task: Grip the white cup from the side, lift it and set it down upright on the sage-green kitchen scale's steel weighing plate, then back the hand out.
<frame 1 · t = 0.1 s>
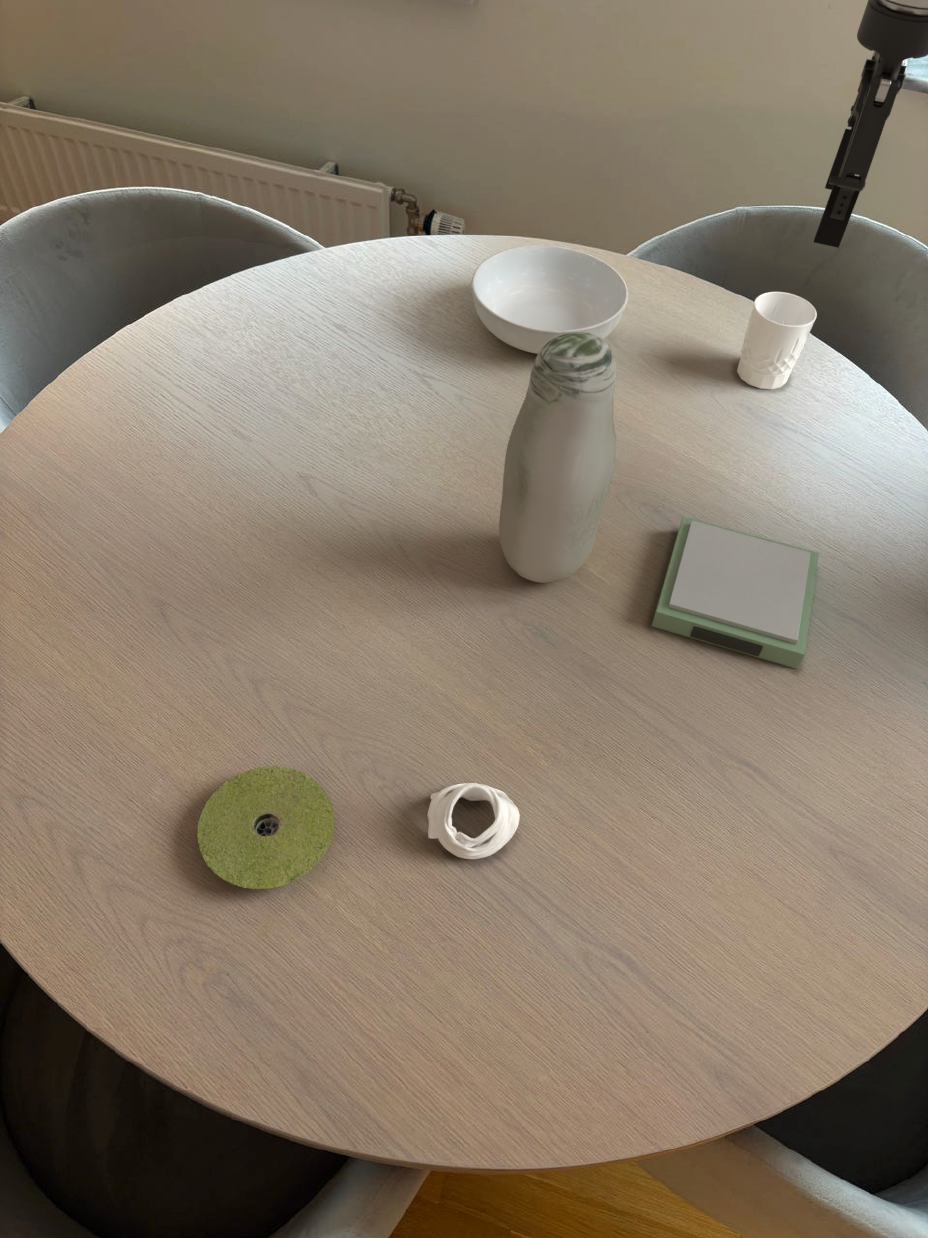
hand: (831, 215, 107), 24 cm above the table, tool pointing down, fingers open, 13 cm apart
kitchen scale: (734, 596, 101), on the table
serving bowl: (543, 331, 131), on the table
white cup: (761, 375, 128), on the table
green abrasive disc: (268, 836, 81), on the table
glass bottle: (541, 566, 103), on the table
white rolled strap: (472, 826, 82), on the table
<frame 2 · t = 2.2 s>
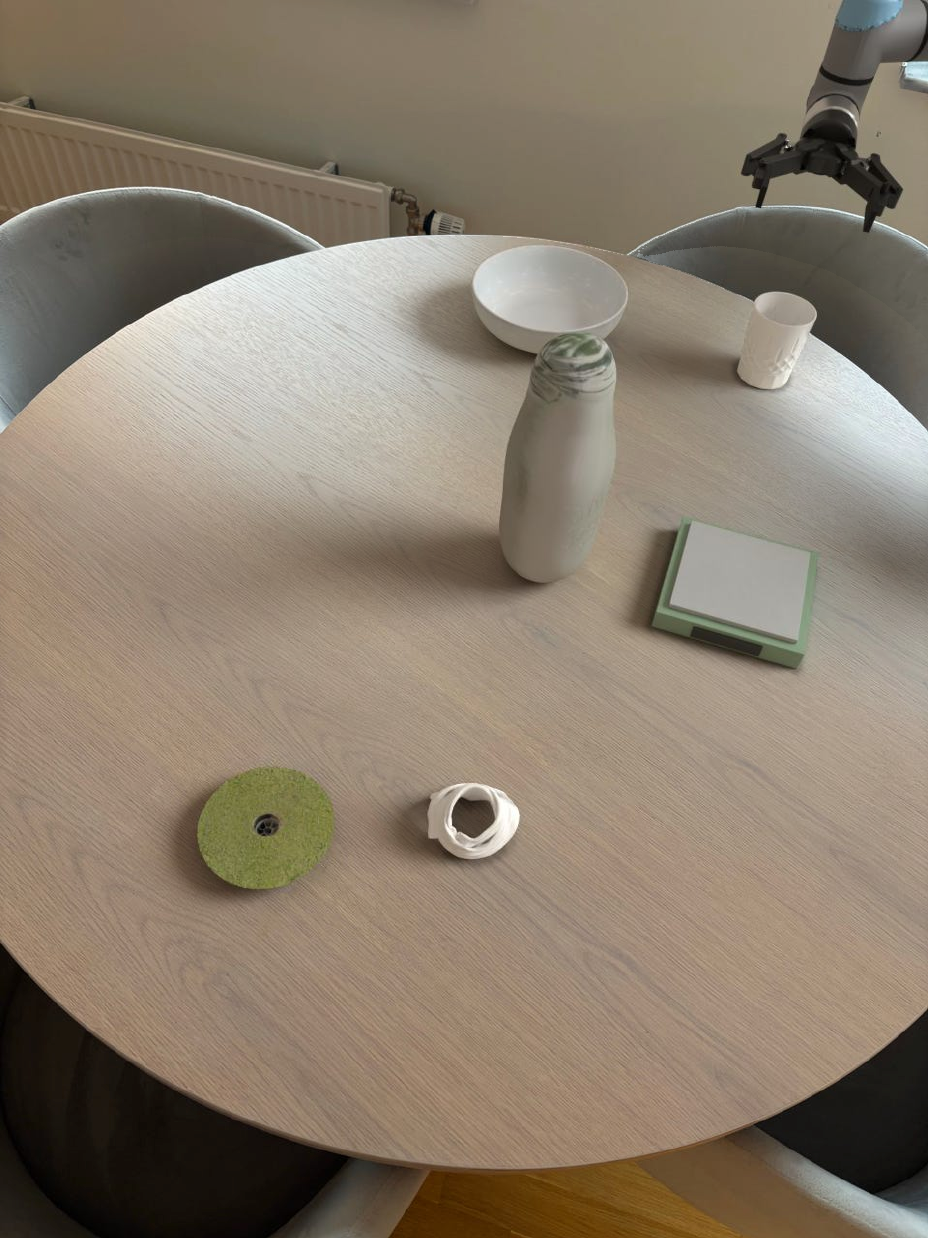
hand: (815, 209, 119), 19 cm above the table, tool horizontal, fingers open, 13 cm apart
nothing on the table moved.
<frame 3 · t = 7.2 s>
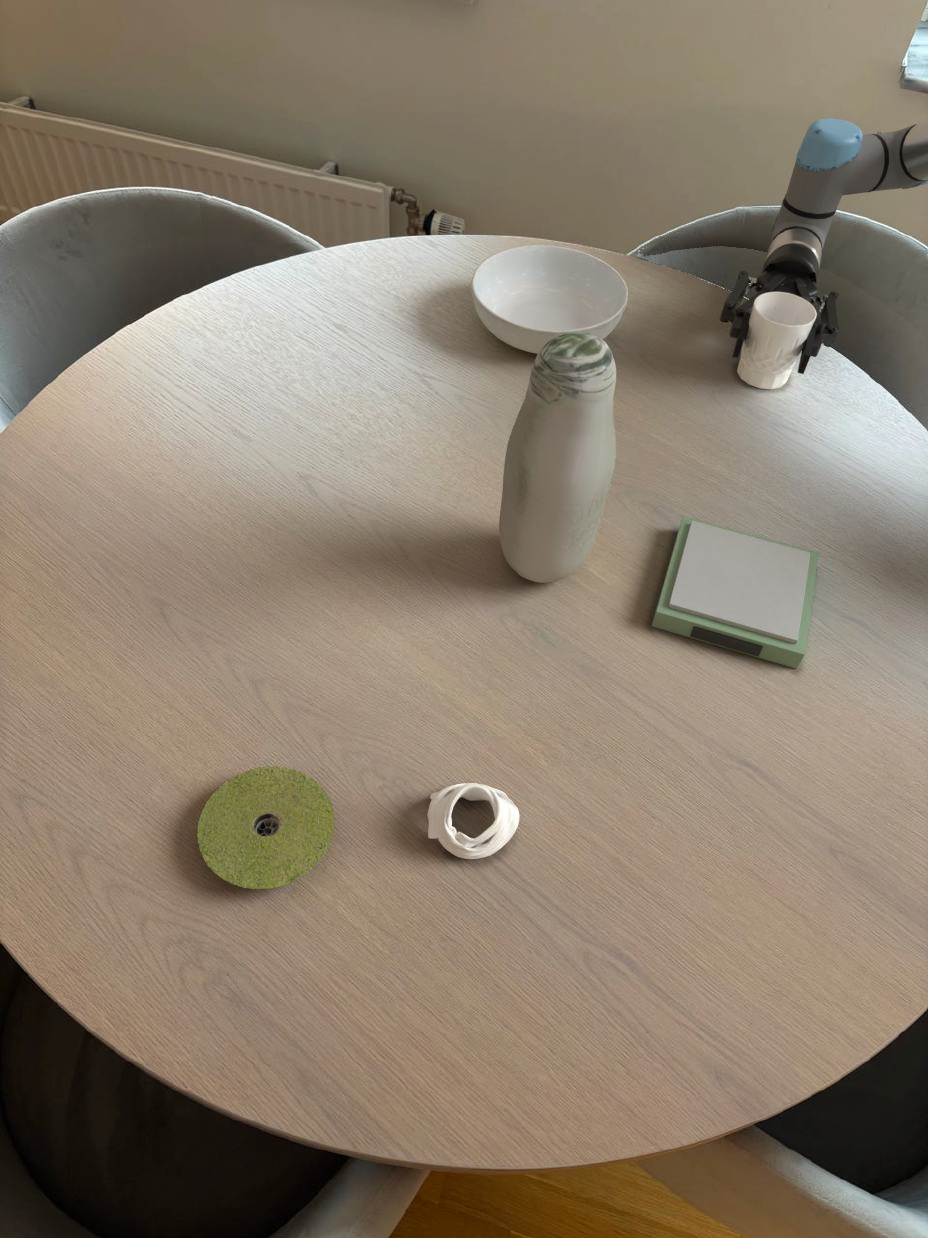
hand: (770, 356, 120), 6 cm above the table, tool horizontal, fingers closed on white cup, 8 cm apart
white cup: (761, 375, 128), on the table, touching gripper
everything else where it was.
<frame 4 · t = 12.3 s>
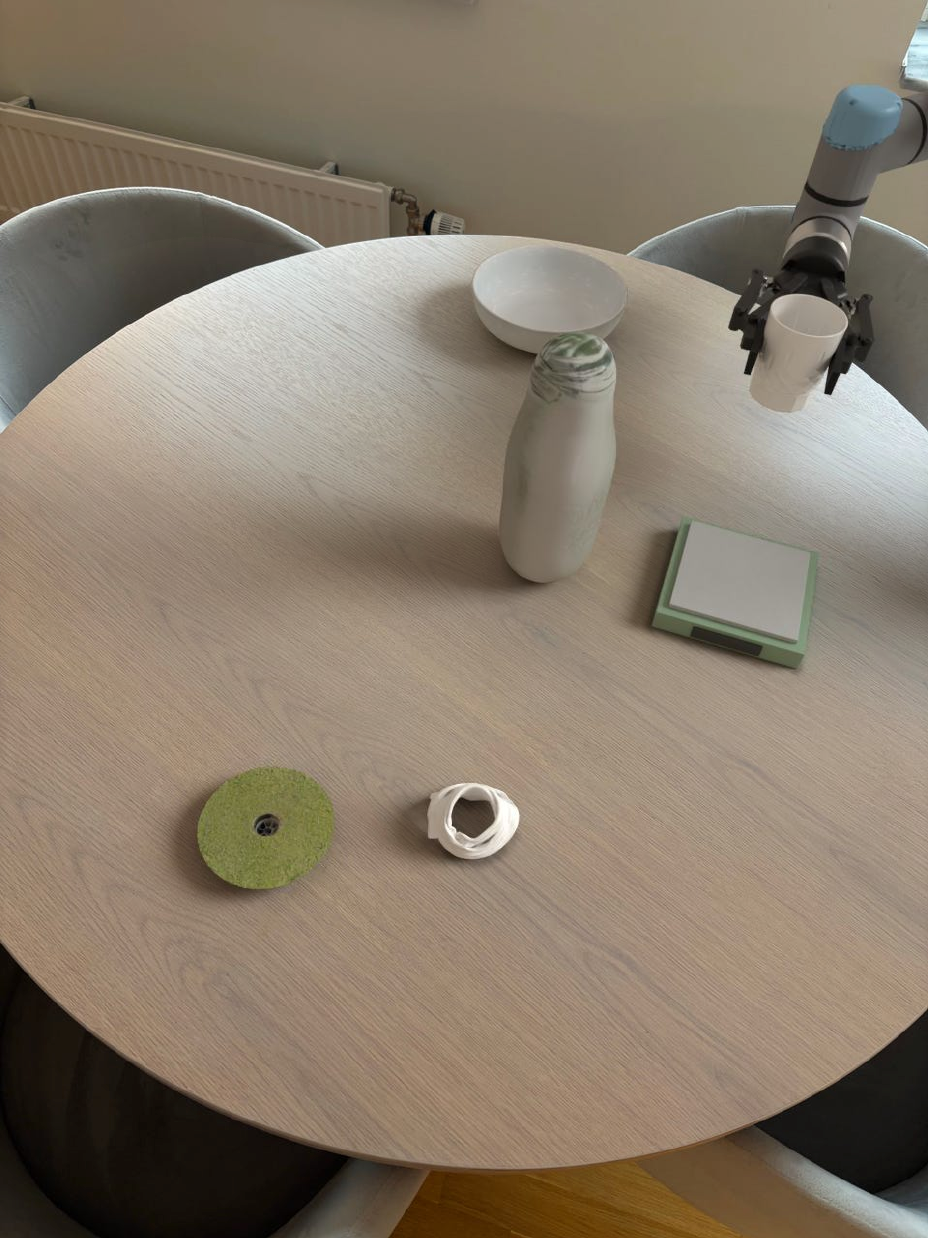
hand: (791, 373, 97), 18 cm above the table, tool horizontal, fingers closed on white cup, 8 cm apart
white cup: (778, 396, 105), point 12 cm above the table, touching gripper
everything else where it was.
when the fingers open (9 cm above the table, at t = 17.7 s): white cup stays where it is, resting on kitchen scale.
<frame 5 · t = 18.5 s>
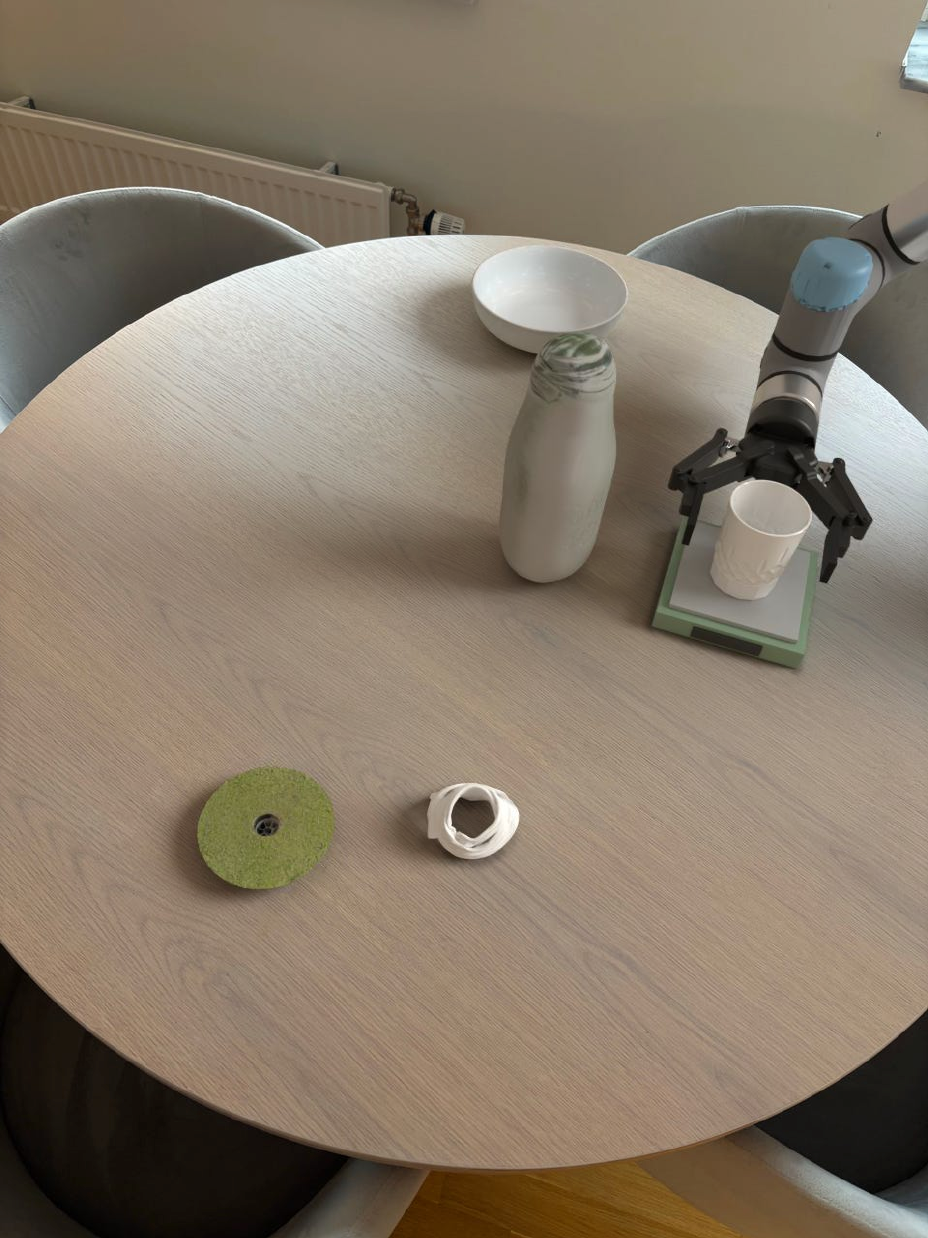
hand: (757, 554, 92), 10 cm above the table, tool horizontal, fingers open, 13 cm apart
white cup: (741, 578, 99), point 3 cm above the table, touching kitchen scale
everything else where it was.
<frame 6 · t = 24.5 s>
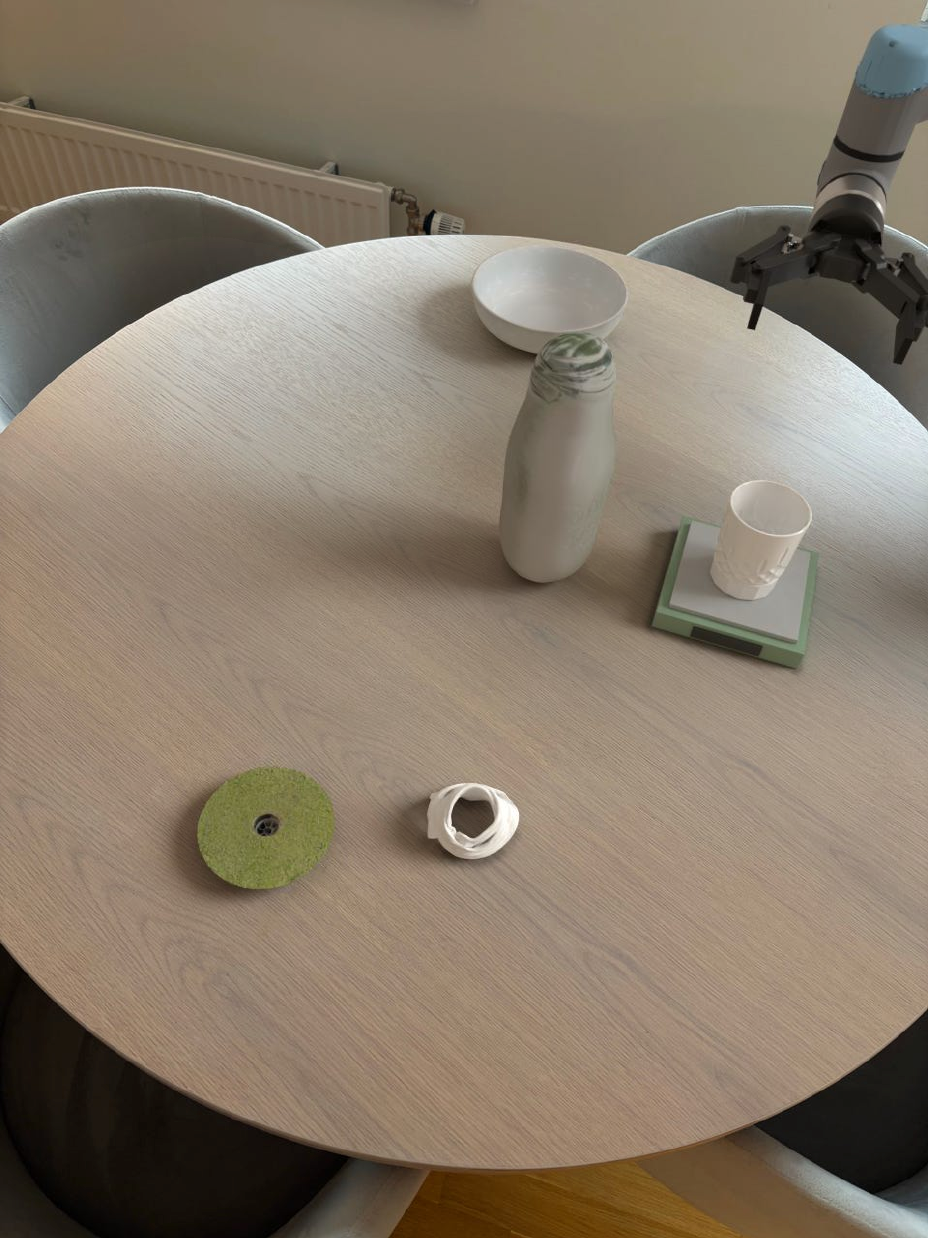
hand: (828, 334, 88), 26 cm above the table, tool horizontal, fingers open, 13 cm apart
nothing on the table moved.
at the end: white cup inside the target area on the kitchen scale (0.0 cm from its centre), point 2.8 cm above the kitchen scale's base; white cup tilted 0°; the gripper is holding nothing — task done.
